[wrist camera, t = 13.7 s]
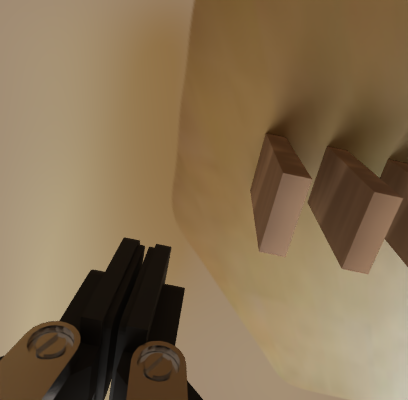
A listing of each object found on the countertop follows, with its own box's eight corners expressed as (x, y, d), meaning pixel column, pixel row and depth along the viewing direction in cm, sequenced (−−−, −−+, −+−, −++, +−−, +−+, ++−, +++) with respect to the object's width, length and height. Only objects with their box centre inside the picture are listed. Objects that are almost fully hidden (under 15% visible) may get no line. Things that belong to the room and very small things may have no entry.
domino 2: (346, 150, 28) (403, 198, 19) (325, 206, 30) (368, 274, 21) (327, 146, 28) (374, 192, 19) (307, 202, 30) (341, 268, 21)
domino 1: (285, 137, 28) (312, 179, 19) (268, 194, 30) (285, 257, 21) (265, 133, 28) (283, 173, 19) (250, 190, 30) (259, 251, 21)
